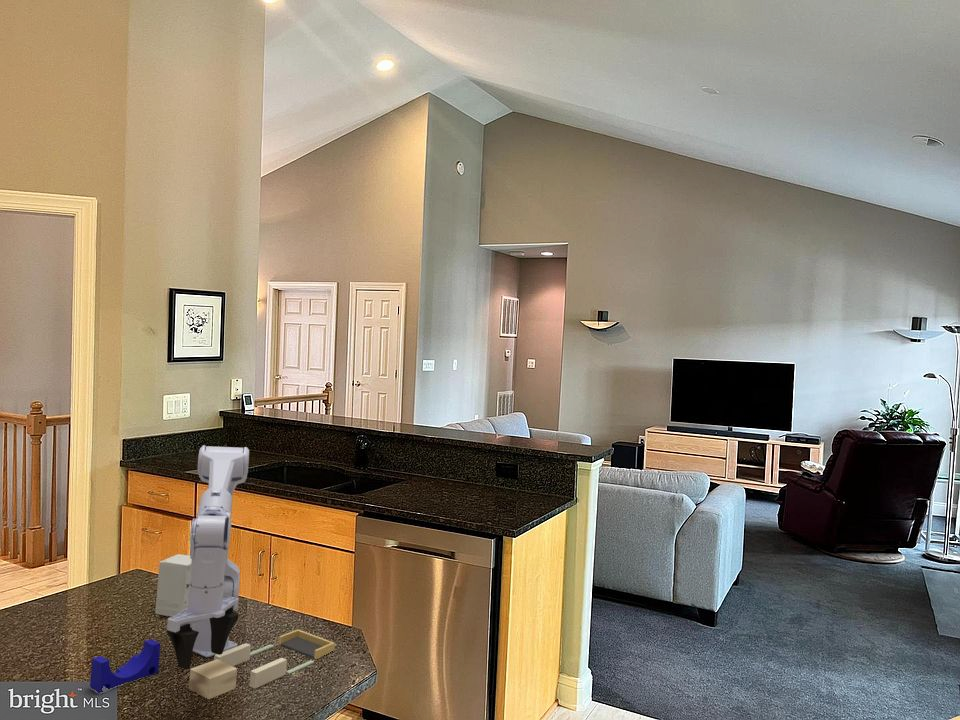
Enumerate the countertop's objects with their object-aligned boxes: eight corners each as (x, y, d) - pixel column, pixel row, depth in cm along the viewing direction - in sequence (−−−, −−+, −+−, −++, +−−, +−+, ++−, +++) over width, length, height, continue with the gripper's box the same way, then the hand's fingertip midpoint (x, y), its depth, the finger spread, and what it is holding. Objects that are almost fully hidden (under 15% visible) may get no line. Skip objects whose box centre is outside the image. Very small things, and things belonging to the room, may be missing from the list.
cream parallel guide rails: (213, 670, 145) (214, 655, 145) (244, 657, 152) (246, 643, 152) (254, 688, 139) (256, 673, 138) (285, 674, 145) (287, 659, 145)
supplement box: (182, 619, 169) (186, 565, 169) (154, 614, 170) (158, 561, 170) (200, 608, 176) (204, 557, 176) (173, 604, 177) (177, 552, 177)
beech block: (188, 689, 137) (190, 668, 136) (215, 679, 142) (217, 659, 141) (208, 700, 133) (210, 678, 133) (235, 689, 138) (237, 668, 138)
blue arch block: (144, 666, 144) (146, 636, 144) (158, 673, 142) (160, 643, 142) (85, 688, 134) (87, 656, 134) (99, 695, 132) (101, 663, 132)
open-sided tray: (278, 644, 159) (279, 636, 159) (297, 637, 164) (297, 629, 164) (316, 659, 153) (316, 650, 153) (334, 651, 158) (334, 642, 158)
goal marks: (245, 655, 152) (245, 654, 152) (270, 645, 158) (270, 644, 158) (289, 674, 146) (289, 672, 146) (314, 662, 152) (314, 661, 152)
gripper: (191, 598, 120) (184, 680, 120) (253, 578, 133) (247, 652, 133) (160, 590, 123) (154, 670, 123) (224, 570, 136) (218, 643, 136)
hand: (200, 660), depth 128 cm, fingers open, 7 cm apart
